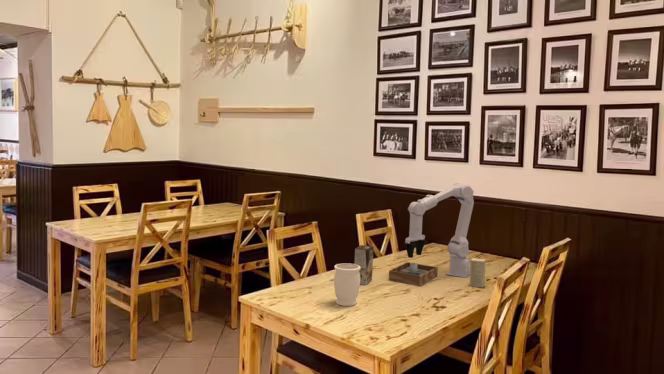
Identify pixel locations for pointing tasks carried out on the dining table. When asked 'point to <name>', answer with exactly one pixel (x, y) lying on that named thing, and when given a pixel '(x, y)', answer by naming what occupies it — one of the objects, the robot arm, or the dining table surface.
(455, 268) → the robot arm
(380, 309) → the dining table surface
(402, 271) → the box
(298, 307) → the dining table surface
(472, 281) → the skincare box
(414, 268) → the peg
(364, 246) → the coffee box
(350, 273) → the jar
